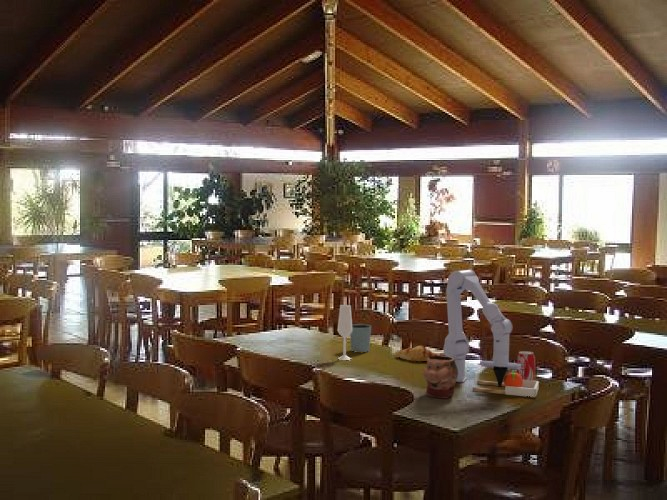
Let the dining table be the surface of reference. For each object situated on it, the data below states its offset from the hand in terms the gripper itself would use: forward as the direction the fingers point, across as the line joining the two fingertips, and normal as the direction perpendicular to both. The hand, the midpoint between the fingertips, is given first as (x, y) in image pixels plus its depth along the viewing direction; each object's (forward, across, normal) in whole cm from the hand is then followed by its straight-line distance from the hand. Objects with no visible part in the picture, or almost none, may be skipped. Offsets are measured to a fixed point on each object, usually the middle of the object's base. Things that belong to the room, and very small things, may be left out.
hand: (500, 386), depth 291 cm
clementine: (+1, +5, 0) cm, 5 cm away
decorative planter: (+1, -20, -16) cm, 25 cm away
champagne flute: (+1, -72, +28) cm, 77 cm away
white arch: (+1, +8, 0) cm, 8 cm away
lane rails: (+1, -3, 0) cm, 4 cm away
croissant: (+1, -41, +40) cm, 58 cm away
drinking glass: (+1, -71, +48) cm, 85 cm away
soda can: (+1, +8, +15) cm, 17 cm away
